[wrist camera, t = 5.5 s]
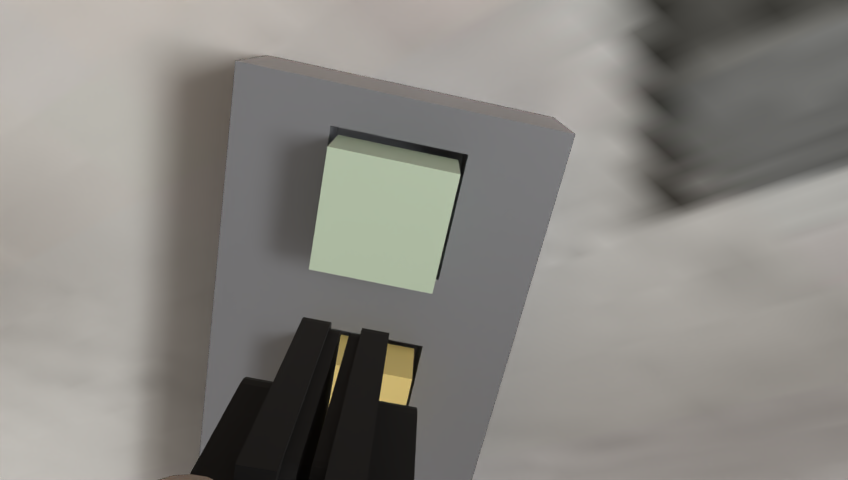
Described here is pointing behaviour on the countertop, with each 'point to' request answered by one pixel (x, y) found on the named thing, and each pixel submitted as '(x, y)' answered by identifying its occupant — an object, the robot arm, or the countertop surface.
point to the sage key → (383, 213)
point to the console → (368, 301)
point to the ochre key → (388, 372)
